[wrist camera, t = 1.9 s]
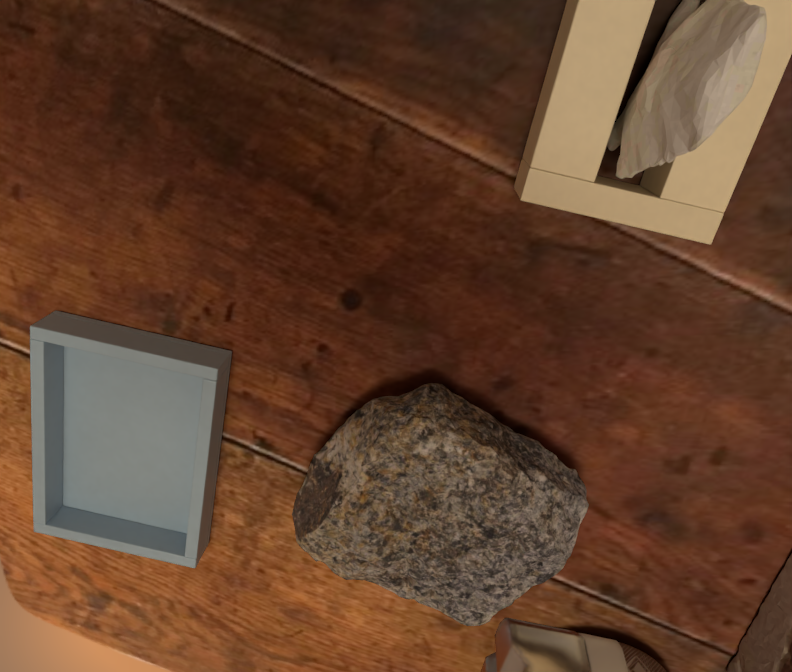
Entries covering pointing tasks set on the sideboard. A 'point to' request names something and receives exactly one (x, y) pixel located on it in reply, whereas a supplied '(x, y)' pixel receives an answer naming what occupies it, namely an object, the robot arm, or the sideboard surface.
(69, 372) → the tray
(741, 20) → the arrowhead
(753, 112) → the holder
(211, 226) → the sideboard surface
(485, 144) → the sideboard surface
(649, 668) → the planter
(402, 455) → the rock
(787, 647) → the fossil
